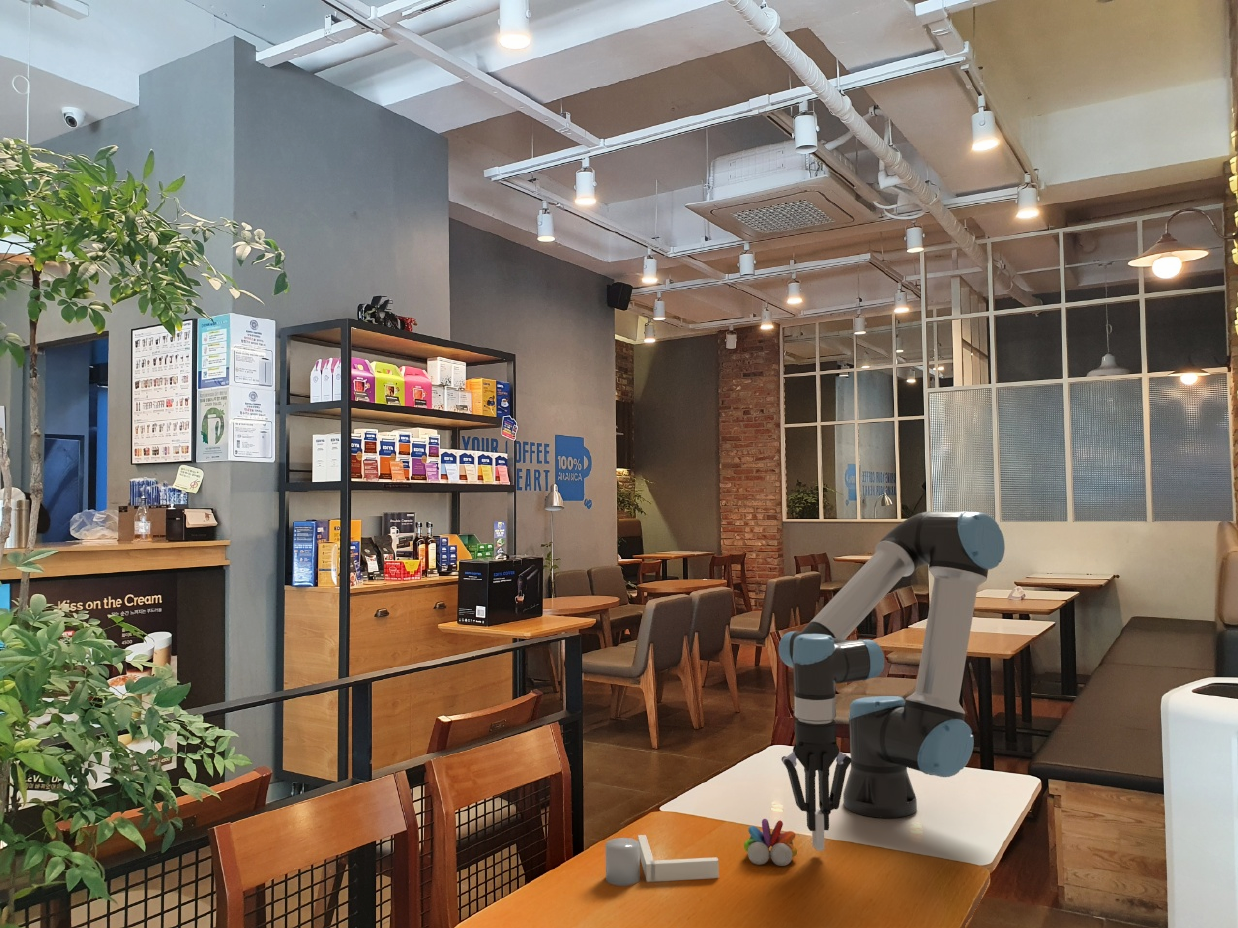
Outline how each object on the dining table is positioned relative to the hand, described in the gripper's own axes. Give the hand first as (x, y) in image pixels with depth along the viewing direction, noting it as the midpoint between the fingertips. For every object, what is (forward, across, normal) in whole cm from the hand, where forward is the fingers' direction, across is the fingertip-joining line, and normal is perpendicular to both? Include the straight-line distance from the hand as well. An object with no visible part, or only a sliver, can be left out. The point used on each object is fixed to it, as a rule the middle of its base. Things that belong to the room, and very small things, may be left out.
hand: (818, 847), depth 169 cm
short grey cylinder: (+2, +37, +5) cm, 37 cm away
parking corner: (+2, +26, 0) cm, 26 cm away
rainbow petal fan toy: (+2, +9, 0) cm, 9 cm away
